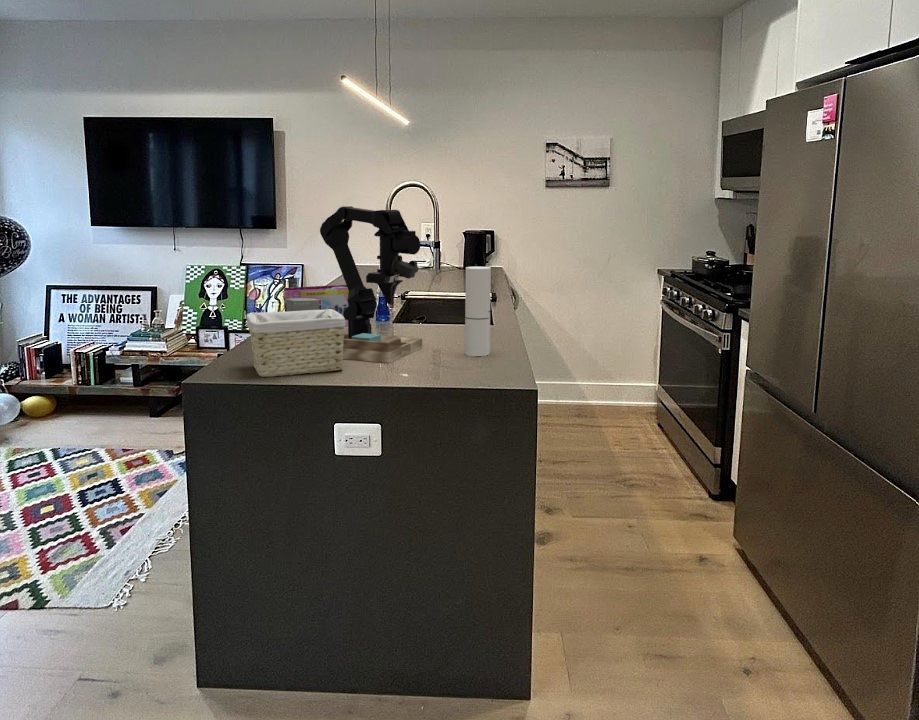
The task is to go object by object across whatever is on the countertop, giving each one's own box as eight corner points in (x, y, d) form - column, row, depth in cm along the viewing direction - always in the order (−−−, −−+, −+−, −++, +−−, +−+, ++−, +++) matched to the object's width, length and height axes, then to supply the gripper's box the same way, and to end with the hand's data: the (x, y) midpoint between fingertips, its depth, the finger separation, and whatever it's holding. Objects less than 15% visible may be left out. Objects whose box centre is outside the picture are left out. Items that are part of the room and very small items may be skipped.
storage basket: (254, 379, 205) (251, 321, 202) (247, 366, 220) (244, 311, 217) (348, 372, 213) (347, 316, 210) (335, 360, 228) (334, 307, 225)
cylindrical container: (492, 352, 239) (493, 267, 234) (485, 357, 232) (486, 269, 227) (469, 350, 241) (470, 266, 236) (461, 355, 235) (462, 268, 229)
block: (351, 346, 230) (351, 336, 230) (363, 343, 236) (363, 333, 235) (370, 348, 228) (369, 338, 227) (381, 345, 233) (381, 334, 233)
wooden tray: (331, 357, 231) (331, 338, 229) (368, 343, 251) (368, 326, 249) (389, 363, 224) (388, 343, 223) (422, 348, 244) (422, 330, 243)
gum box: (286, 331, 272) (285, 290, 269) (281, 327, 279) (279, 287, 276) (355, 326, 282) (354, 287, 279) (348, 322, 289) (347, 284, 286)
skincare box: (293, 356, 232) (291, 300, 229) (286, 351, 239) (284, 297, 235) (322, 353, 236) (320, 299, 233) (314, 349, 242) (312, 296, 239)
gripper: (399, 256, 233) (399, 310, 237) (426, 251, 250) (426, 301, 254) (364, 254, 238) (365, 307, 241) (394, 249, 254) (394, 299, 258)
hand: (389, 303), depth 248 cm, fingers closed
